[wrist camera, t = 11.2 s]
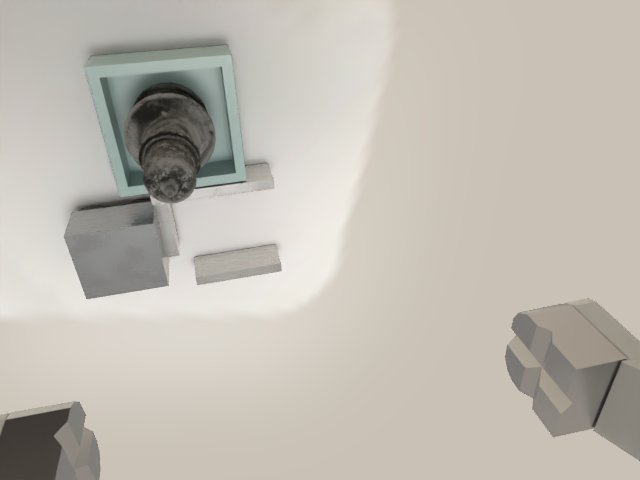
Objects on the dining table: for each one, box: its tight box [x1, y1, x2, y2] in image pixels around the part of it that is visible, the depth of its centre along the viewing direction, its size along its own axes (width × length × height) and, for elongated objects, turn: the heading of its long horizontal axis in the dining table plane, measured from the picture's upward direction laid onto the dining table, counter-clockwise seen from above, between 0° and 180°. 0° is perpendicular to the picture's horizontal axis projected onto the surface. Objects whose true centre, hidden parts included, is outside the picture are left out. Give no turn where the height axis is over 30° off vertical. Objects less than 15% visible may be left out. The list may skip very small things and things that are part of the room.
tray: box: [84, 45, 247, 197], centre depth 36 cm, size 9×9×3 cm
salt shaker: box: [123, 83, 216, 203], centre depth 32 cm, size 6×6×12 cm
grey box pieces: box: [64, 163, 282, 299], centre depth 40 cm, size 15×9×4 cm, turn 92°
